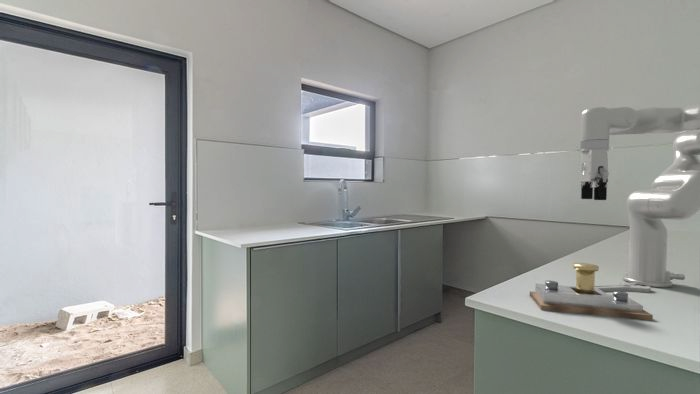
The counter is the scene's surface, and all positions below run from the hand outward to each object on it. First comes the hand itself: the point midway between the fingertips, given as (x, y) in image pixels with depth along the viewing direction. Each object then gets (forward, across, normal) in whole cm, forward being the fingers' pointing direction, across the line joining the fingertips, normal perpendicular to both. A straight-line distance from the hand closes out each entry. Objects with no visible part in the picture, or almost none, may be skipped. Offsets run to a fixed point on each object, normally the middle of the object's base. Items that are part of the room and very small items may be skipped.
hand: (593, 199), depth 107 cm
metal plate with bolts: (+27, +23, -10) cm, 37 cm away
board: (+28, +23, -10) cm, 38 cm away
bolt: (+27, +23, -10) cm, 37 cm away
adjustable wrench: (+29, +3, +4) cm, 29 cm away
